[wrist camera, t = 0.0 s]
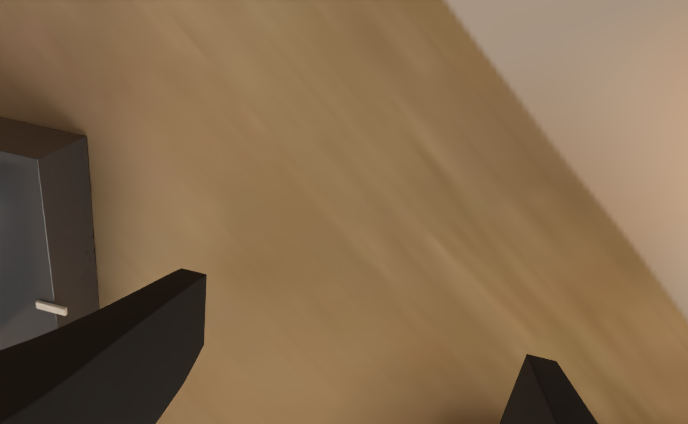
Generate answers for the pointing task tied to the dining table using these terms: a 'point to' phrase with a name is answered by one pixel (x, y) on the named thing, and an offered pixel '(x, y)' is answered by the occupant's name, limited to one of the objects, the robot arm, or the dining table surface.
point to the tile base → (44, 231)
